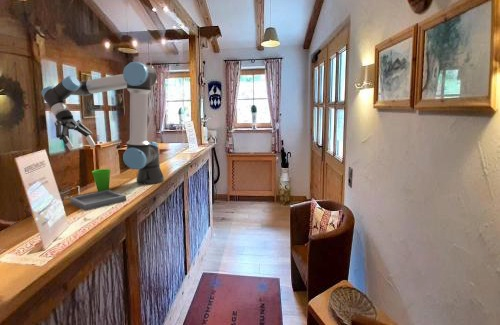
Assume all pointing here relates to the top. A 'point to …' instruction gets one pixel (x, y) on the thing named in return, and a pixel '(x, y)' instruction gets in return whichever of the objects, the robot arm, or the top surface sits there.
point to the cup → (102, 179)
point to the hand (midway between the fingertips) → (83, 147)
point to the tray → (97, 199)
